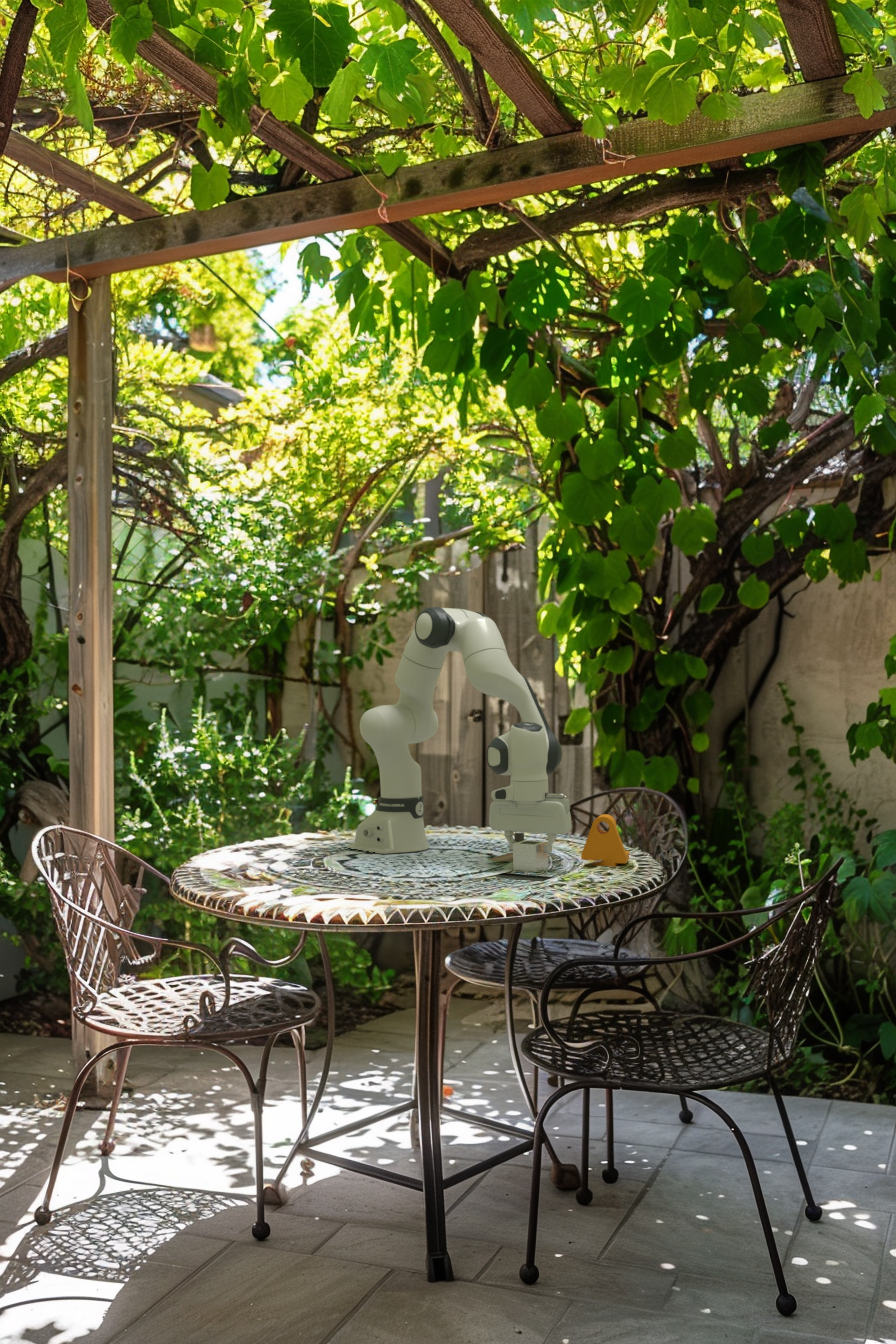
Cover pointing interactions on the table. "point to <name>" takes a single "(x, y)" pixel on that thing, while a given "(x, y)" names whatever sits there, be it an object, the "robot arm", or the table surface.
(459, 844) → the table surface
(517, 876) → the mat
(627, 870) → the table surface
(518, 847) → the white box
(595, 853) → the bracket
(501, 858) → the post board
